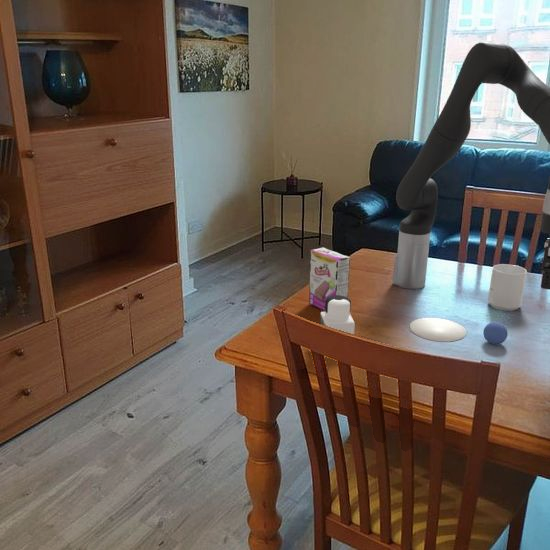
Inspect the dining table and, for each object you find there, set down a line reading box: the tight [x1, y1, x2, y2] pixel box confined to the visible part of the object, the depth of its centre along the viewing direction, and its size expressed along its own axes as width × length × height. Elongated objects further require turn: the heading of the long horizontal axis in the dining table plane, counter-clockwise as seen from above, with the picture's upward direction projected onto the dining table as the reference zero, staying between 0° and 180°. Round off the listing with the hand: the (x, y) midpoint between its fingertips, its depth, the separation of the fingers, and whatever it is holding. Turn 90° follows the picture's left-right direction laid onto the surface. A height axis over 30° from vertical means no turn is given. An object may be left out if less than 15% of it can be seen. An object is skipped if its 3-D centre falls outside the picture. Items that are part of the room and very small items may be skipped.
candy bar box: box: [308, 246, 351, 312], centre depth 154 cm, size 11×5×16 cm, turn 37°
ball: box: [483, 321, 509, 346], centre depth 136 cm, size 6×6×6 cm
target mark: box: [409, 317, 467, 343], centre depth 144 cm, size 14×14×1 cm
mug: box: [487, 263, 528, 312], centre depth 159 cm, size 12×9×11 cm
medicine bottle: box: [319, 295, 356, 335], centre depth 134 cm, size 7×7×12 cm
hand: (548, 284), depth 126 cm, fingers open, 5 cm apart
